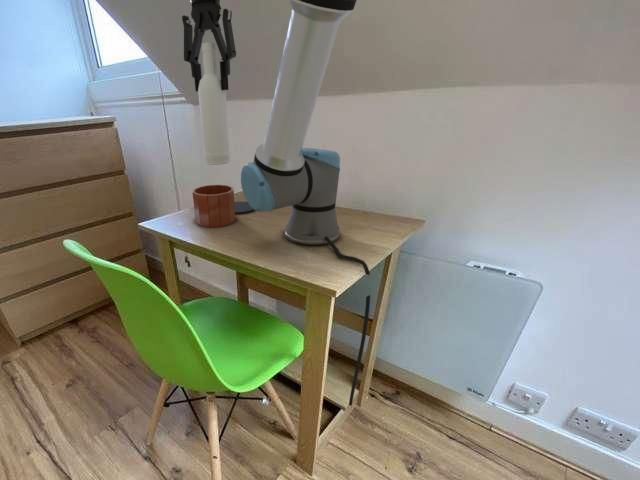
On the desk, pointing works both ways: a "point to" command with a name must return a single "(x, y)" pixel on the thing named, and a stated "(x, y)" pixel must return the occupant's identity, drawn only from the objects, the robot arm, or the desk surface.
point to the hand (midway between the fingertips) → (211, 90)
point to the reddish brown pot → (214, 205)
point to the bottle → (213, 110)
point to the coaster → (242, 207)
